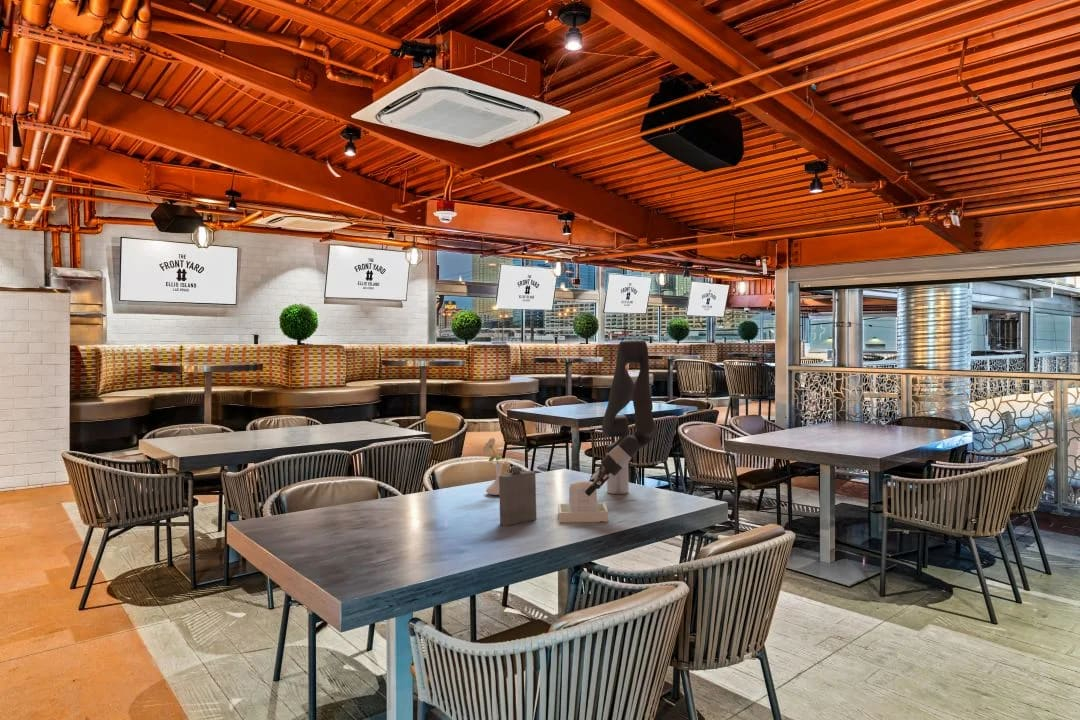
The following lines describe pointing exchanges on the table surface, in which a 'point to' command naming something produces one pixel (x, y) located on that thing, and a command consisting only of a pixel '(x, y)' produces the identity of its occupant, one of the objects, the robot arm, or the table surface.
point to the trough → (583, 514)
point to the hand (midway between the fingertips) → (585, 491)
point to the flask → (517, 496)
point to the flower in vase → (494, 487)
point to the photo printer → (582, 497)
